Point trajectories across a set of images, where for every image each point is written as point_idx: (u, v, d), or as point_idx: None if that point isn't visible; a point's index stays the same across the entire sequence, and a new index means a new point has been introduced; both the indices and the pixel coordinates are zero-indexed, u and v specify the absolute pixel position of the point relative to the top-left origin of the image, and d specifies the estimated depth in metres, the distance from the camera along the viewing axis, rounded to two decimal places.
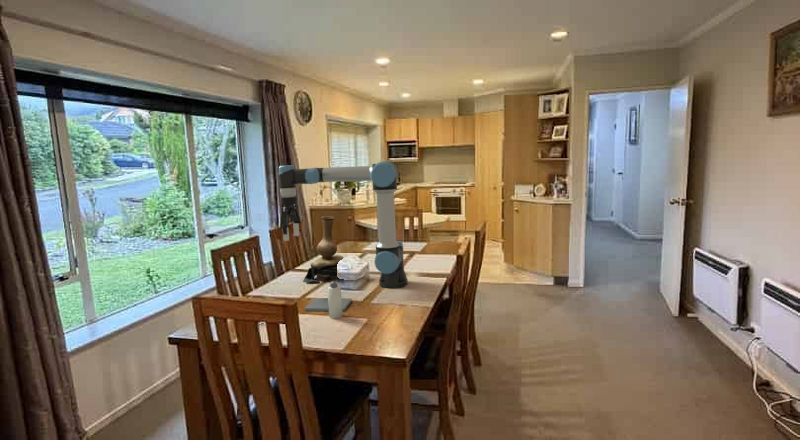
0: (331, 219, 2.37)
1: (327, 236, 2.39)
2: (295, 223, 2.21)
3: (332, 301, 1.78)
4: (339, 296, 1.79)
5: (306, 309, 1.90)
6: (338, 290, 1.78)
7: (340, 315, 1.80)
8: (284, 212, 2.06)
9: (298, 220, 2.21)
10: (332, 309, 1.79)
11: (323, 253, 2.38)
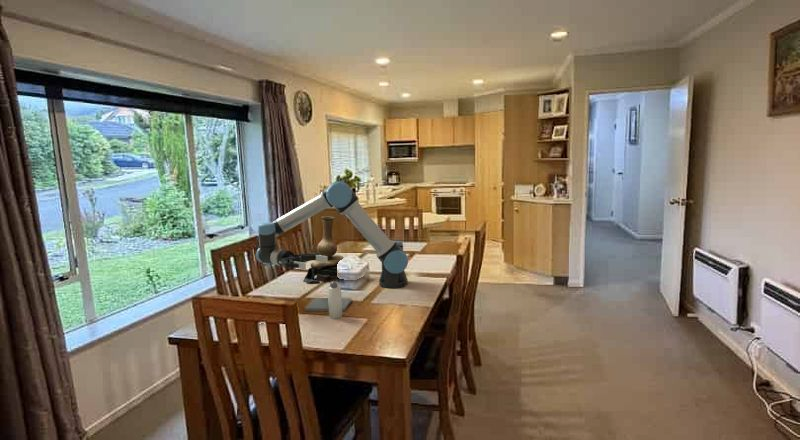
0: (331, 219, 2.37)
1: (327, 236, 2.39)
2: (316, 258, 1.95)
3: (332, 301, 1.78)
4: (339, 296, 1.79)
5: (306, 309, 1.90)
6: (338, 290, 1.78)
7: (340, 315, 1.80)
8: (281, 262, 1.87)
9: (315, 254, 1.96)
10: (332, 309, 1.79)
11: (323, 253, 2.38)
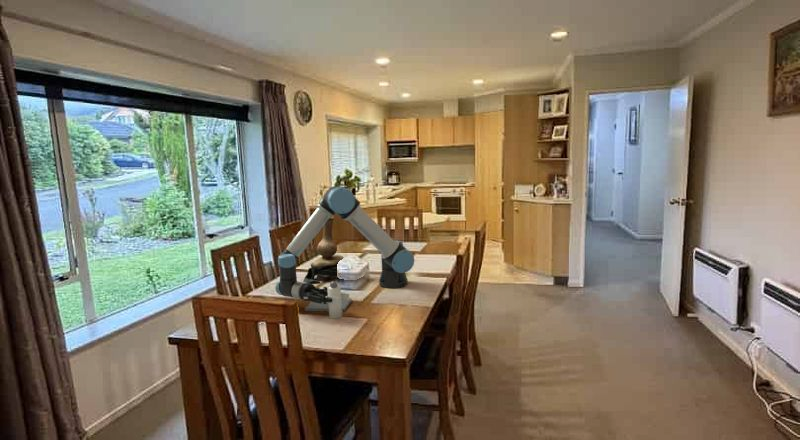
0: (331, 219, 2.37)
1: (327, 236, 2.39)
2: None
3: None
4: (339, 296, 1.79)
5: (306, 309, 1.90)
6: (338, 290, 1.78)
7: (340, 315, 1.80)
8: (308, 297, 1.80)
9: None
10: (332, 309, 1.79)
11: (323, 253, 2.38)
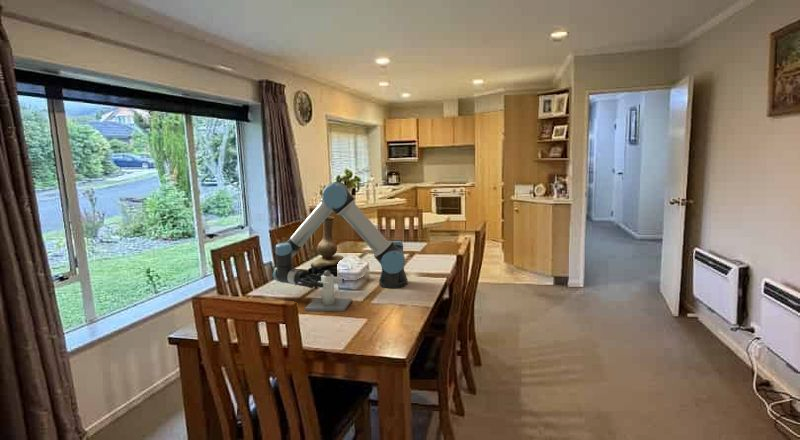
0: (331, 219, 2.37)
1: (327, 236, 2.39)
2: None
3: (325, 289, 1.92)
4: (332, 284, 1.93)
5: (306, 309, 1.90)
6: (331, 278, 1.92)
7: (333, 302, 1.94)
8: (302, 282, 1.94)
9: None
10: (325, 296, 1.92)
11: (323, 253, 2.38)
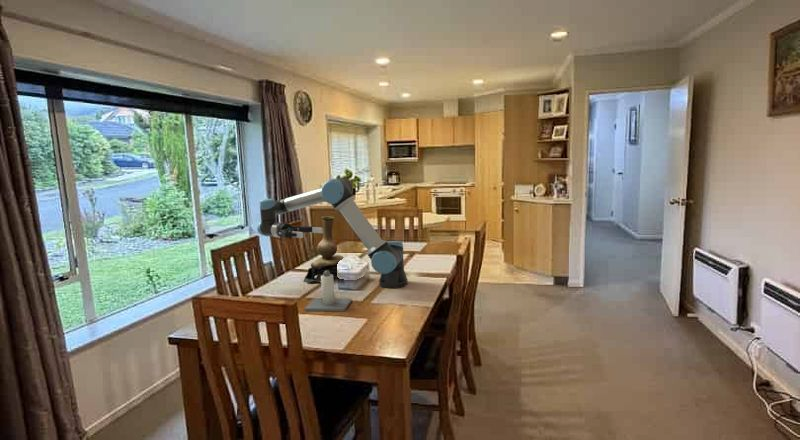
0: (331, 219, 2.37)
1: (327, 236, 2.39)
2: None
3: (325, 289, 1.92)
4: (332, 284, 1.93)
5: (306, 309, 1.90)
6: (331, 278, 1.92)
7: (333, 302, 1.94)
8: (281, 232, 2.06)
9: (311, 226, 2.15)
10: (325, 296, 1.92)
11: (323, 253, 2.38)
